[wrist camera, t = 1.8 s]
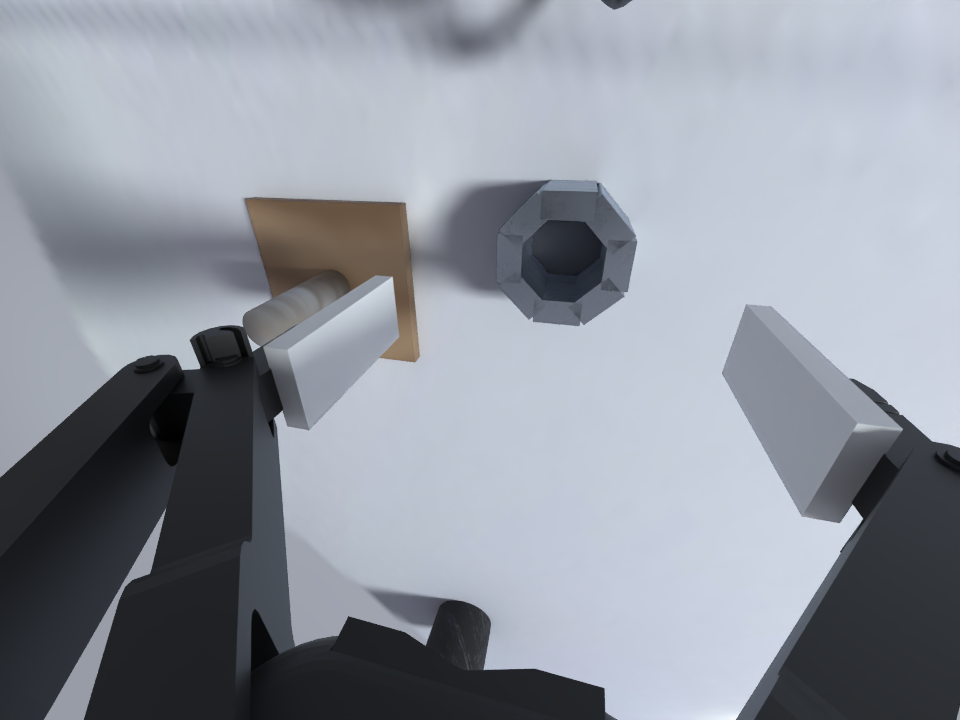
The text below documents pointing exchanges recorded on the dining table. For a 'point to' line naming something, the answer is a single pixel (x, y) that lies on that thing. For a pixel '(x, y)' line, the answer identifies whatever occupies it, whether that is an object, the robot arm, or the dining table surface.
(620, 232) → the ring
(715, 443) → the dining table surface
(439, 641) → the travel mug
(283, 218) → the shaft stand
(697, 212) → the dining table surface
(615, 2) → the mug
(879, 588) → the robot arm
